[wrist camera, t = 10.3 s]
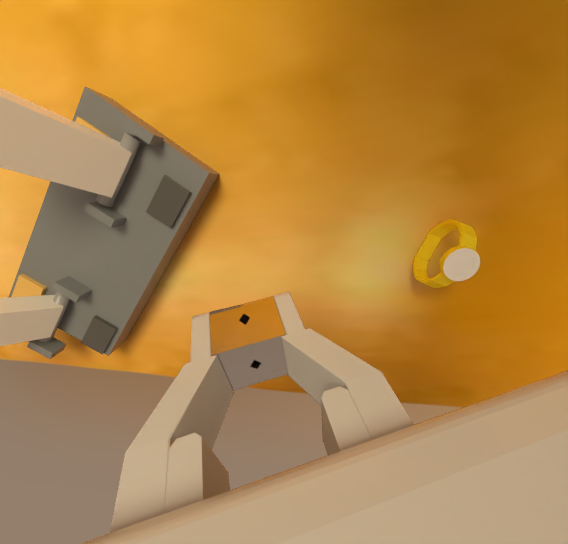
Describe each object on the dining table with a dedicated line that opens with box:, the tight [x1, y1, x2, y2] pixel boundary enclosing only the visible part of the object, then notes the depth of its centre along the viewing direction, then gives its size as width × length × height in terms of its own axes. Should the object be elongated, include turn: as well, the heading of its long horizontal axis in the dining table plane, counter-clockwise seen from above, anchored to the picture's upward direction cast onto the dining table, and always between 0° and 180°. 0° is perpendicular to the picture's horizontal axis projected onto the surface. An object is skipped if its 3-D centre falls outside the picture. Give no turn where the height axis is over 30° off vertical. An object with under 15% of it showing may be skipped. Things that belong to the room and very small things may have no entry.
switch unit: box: [9, 87, 219, 359], centre depth 25 cm, size 11×24×5 cm, turn 146°
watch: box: [413, 219, 480, 288], centre depth 23 cm, size 6×3×6 cm, turn 159°
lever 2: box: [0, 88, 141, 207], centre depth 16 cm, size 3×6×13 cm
